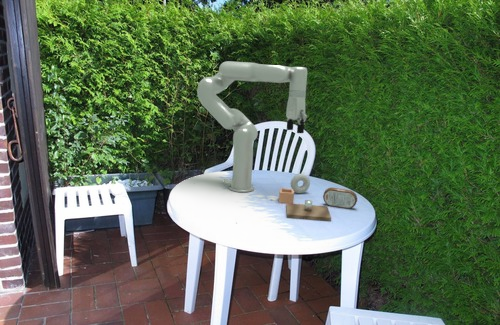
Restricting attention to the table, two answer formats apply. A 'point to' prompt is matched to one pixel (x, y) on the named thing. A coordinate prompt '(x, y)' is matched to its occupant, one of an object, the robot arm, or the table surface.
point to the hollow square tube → (286, 195)
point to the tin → (340, 198)
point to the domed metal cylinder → (308, 205)
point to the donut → (296, 179)
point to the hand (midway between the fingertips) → (294, 131)
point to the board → (315, 214)
